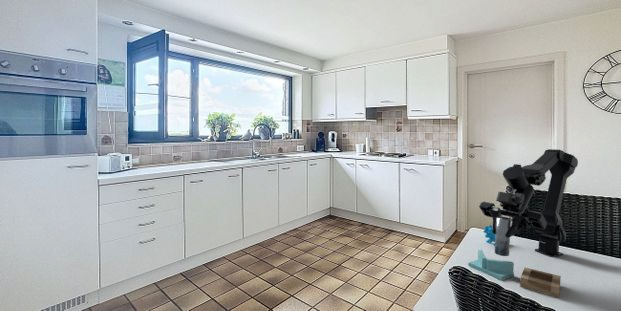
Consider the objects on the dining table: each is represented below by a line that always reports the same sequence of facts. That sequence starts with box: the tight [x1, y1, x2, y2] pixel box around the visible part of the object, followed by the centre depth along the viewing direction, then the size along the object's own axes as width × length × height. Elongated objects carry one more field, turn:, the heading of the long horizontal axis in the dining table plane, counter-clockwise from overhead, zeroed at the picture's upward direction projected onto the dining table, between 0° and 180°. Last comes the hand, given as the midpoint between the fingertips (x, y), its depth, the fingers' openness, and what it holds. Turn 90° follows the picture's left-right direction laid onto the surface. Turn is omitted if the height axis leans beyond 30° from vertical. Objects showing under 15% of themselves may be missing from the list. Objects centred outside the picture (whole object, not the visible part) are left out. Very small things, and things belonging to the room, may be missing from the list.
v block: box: [467, 249, 515, 281], centre depth 100 cm, size 6×12×5 cm, turn 25°
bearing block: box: [519, 266, 562, 299], centre depth 90 cm, size 9×9×3 cm
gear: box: [482, 224, 496, 247], centre depth 124 cm, size 11×6×10 cm
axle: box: [494, 216, 512, 257], centre depth 97 cm, size 4×4×12 cm
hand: (500, 235), depth 97 cm, fingers closed on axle, 4 cm apart
